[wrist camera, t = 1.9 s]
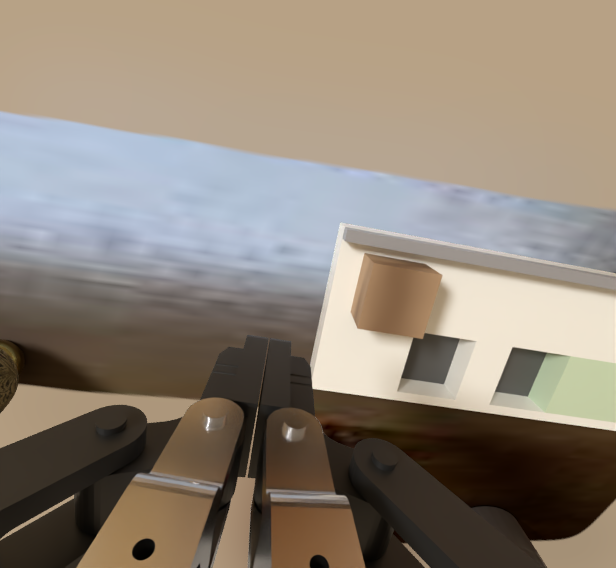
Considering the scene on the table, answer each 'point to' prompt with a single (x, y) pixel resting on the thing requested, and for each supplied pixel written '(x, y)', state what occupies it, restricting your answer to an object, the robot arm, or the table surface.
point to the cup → (9, 371)
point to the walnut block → (394, 296)
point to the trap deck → (477, 334)
